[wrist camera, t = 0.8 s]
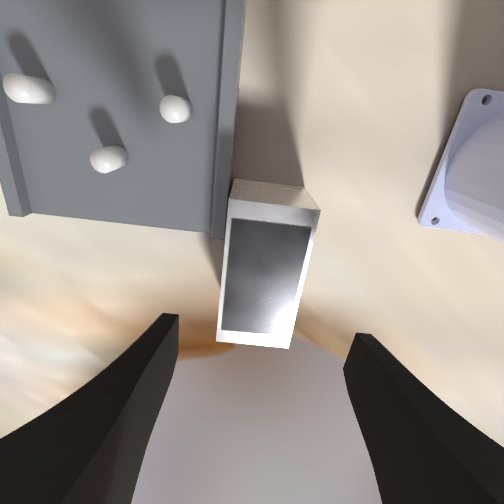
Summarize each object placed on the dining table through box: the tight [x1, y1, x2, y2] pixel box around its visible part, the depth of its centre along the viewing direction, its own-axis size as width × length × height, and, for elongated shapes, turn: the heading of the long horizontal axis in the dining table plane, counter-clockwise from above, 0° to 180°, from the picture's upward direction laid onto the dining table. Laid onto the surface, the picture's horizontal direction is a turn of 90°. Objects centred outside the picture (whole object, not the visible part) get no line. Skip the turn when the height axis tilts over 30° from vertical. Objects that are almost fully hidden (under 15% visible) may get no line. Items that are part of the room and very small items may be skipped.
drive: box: [216, 178, 321, 348], centre depth 18 cm, size 4×9×5 cm, turn 173°
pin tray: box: [0, 0, 246, 240], centre depth 13 cm, size 13×20×3 cm, turn 173°
